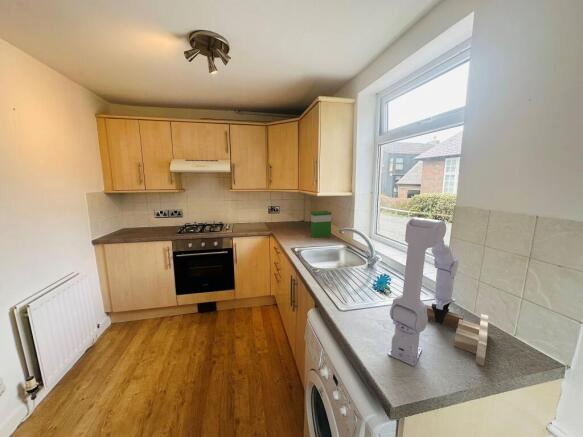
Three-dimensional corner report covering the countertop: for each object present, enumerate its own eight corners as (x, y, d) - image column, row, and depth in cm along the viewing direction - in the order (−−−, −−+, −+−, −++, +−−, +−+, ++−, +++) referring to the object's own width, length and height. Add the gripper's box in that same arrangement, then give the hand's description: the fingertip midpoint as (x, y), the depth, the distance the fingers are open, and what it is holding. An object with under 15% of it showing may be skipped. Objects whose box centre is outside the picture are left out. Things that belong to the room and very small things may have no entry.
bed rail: (461, 331, 91) (463, 318, 90) (419, 317, 100) (420, 306, 99) (462, 327, 93) (463, 315, 92) (421, 314, 102) (422, 303, 101)
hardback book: (327, 234, 243) (327, 210, 239) (330, 236, 236) (331, 211, 232) (310, 236, 238) (311, 211, 234) (313, 238, 231) (314, 212, 227)
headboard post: (483, 366, 74) (486, 345, 73) (452, 354, 79) (454, 334, 78) (485, 333, 89) (488, 315, 88) (459, 325, 94) (461, 308, 93)
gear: (368, 282, 129) (383, 269, 128) (375, 288, 131) (389, 276, 130) (378, 294, 119) (394, 280, 118) (385, 301, 121) (401, 287, 120)
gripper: (454, 296, 86) (450, 331, 88) (458, 282, 97) (455, 314, 99) (431, 290, 90) (428, 324, 92) (438, 278, 101) (435, 308, 104)
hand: (440, 318), depth 96 cm, fingers open, 7 cm apart
